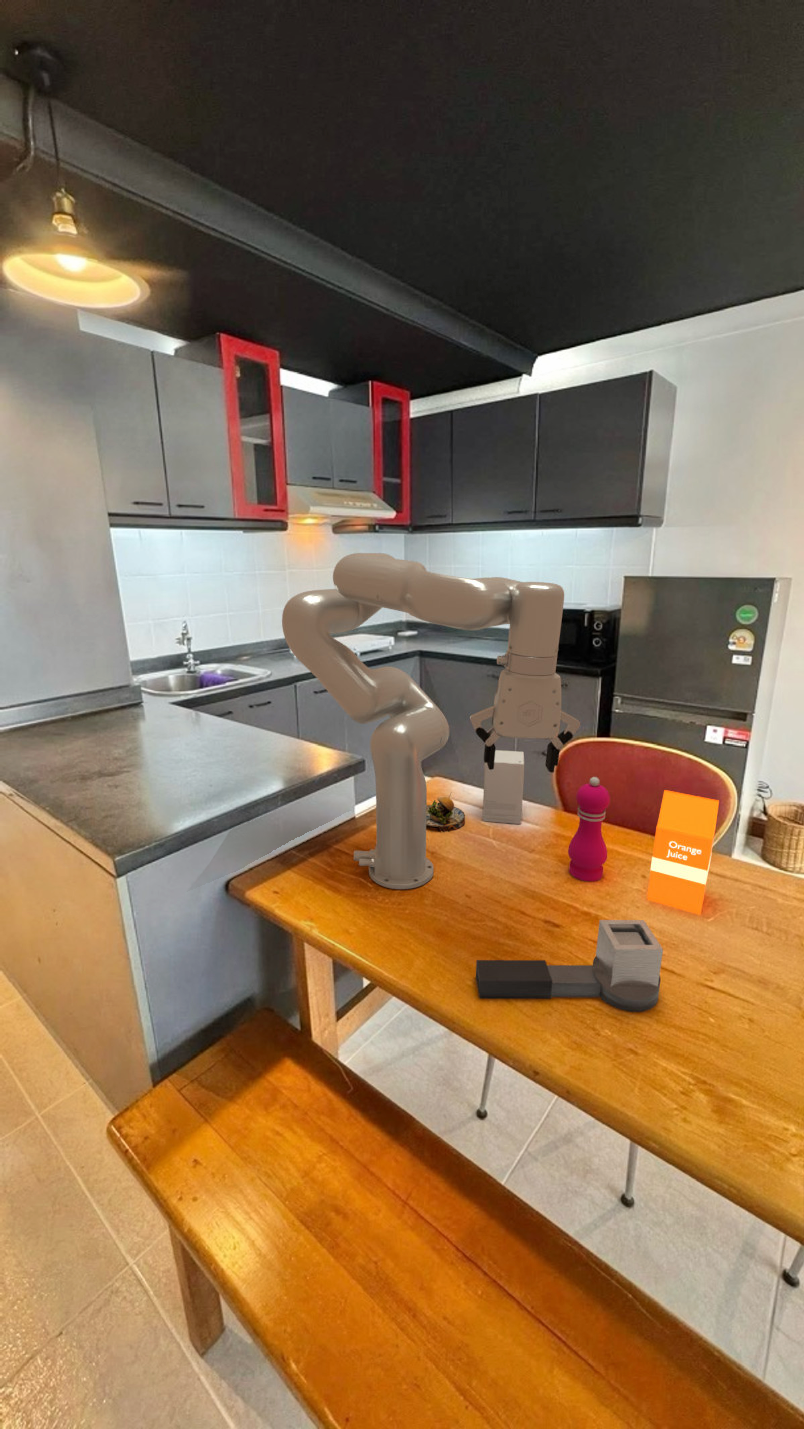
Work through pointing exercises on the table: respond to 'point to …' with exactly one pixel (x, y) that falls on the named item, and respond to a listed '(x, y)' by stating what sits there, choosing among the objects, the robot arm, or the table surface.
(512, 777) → the supplement box
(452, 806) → the burger
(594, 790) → the pepper mill
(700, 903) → the orange juice
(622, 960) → the socket
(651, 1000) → the ratchet
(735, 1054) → the table surface
